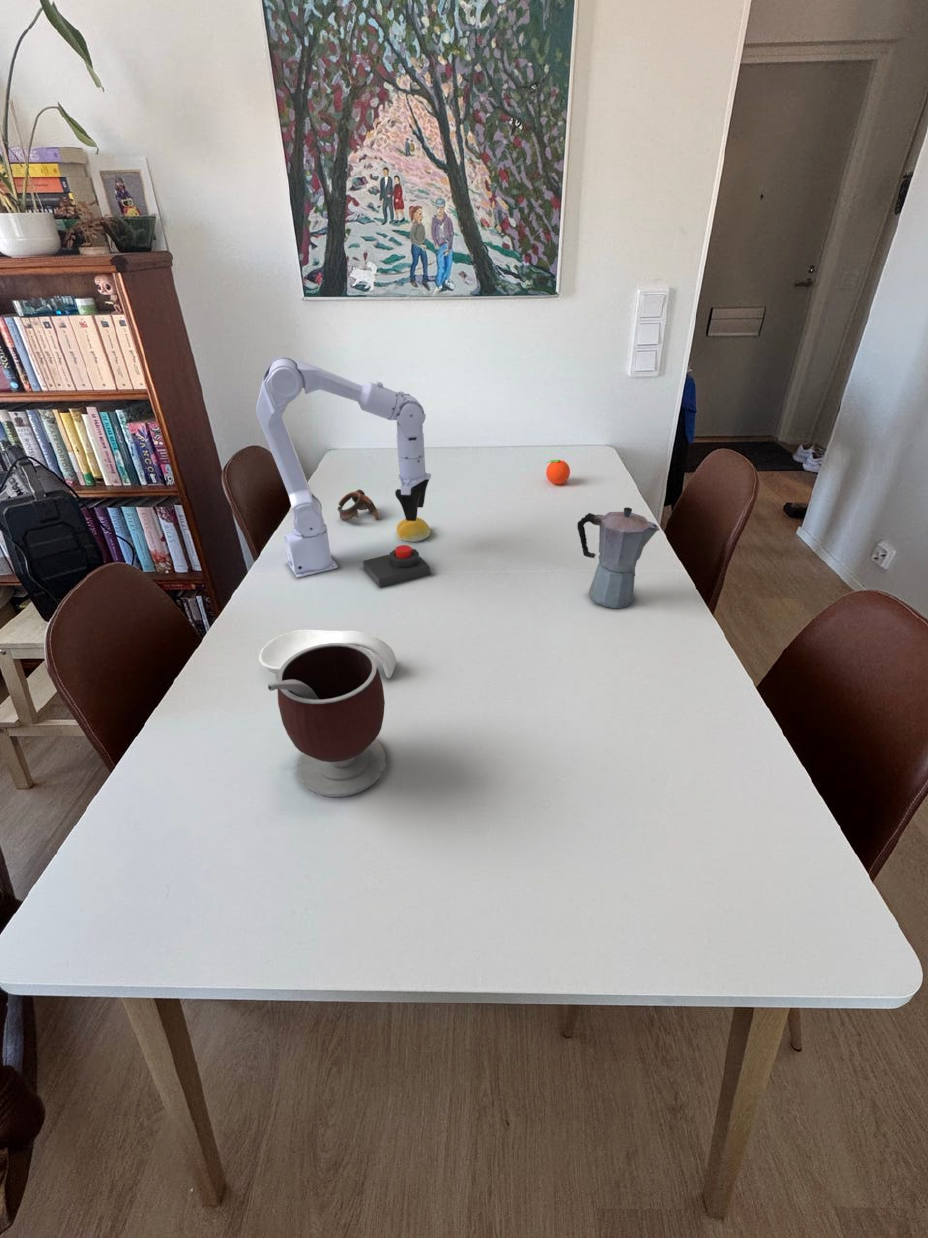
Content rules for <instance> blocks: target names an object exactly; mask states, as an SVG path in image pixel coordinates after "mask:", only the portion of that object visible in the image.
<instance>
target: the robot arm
mask: <svg viewBox="0 0 928 1238" xmlns="http://www.w3.org/2000/svg"><path fill="white" fill-rule="evenodd" d="M302 389H304V394H305V395H307V394H311V393H314V392H316V391H323V392H326V393H330V394H332V395H336V396H339V397H342V398H345V399H348V400H351V401H354V402H357V403H358V405H359V407H360V409H361V410H362V411H364V412H366V413H369V414H372V415H375V416H377V417H380V418H383V419H386V420H388V421H396V444H397V446H396V447H397V457H398V460H397V461H398V472H399V474H398V480H399V483H400V488H397V489H396V490H395V491H394V494H395V495H394V496H395V497H396V499H397V500H398V502H399V503H400V505H401V508H402V511H403V513H404V517H405V519H406V520H407V521H416V518H418V508H420V509H421V508H424V504H425V498H426V493H427V487H428V484H429V482H430V480H431V478H432V474H431V473H427V471H426V457H425V455H426V454H425V435H424V431H423V429H424V425H423V424H424V423H425V420H426V413H425V410H424V407H423V406H422V405H421V403H420V402H419V401H418V399H417V398H416V397H414V396H413V395H411V394H410V393H405V392H404V391H401V390H399V391H398V392H397V391H395V390H392V389H390V388H387V387H384V384H383V382H380V381H378V380H377V381H375V383H374V382H372V381H370V382H367V383H364V384H362V385H361V384H359V383H356V382H354V381H351V380H349V379H347V378H345V377H342V376H340V375H337V374H335V373H332V372H330V371H328V370H326V369H323V368H321V367H318V366H316V365H313V364H310V363H308V362H305V361H301V360H296V361H295V360H294V359H292V358H290V357H287V356H280V357H279V356H278V357H277V358H275V359H274V360H272V361H271V363H270V364H269V365H268V367H267V368H266V370H265V371H264V373H263V376H262V381H261V385H260V390H259V395H258V398H257V401H256V402H257V403H256V407H255V408H256V409H255V414H256V417H257V420H258V422H259V425H260V427H261V430H262V432H263V434H264V437H265V440H266V442H267V444H268V447H269V449H270V452H271V454H272V455H271V456H272V457H273V460H274V463H275V465H276V467H277V469H278V472H279V475H280V477H281V480H282V482H283V485H284V487H285V490H286V492H287V495H288V498H289V502H290V506H291V510H292V512H293V531H291V532H289V533H285V534H283V535H284V536H283V537H284V539H283V540H284V545H285V550H286V556H287V561H288V562H287V564H288V566H289V567H290V569H291V570H292V572H293V574H294V576H295V577H296V578H302V577H307V576H311V575H314V574H315V575H316V574H319V573H323V572H327V571H331V570H336V569H338V568H339V566H338V564H337V563H336V562H335V561H334V559H333V558H332V553H331V545H330V540H329V533H328V526H327V524H326V523H325V520H324V519H325V518H324V517H323V512H322V511H323V507H322V503H321V501H320V500H319V499H318V497H316V495H314V493H313V491H312V488H311V486H310V485H309V482H308V481H307V478H306V474H305V472H304V469H303V467H302V464H301V462H300V459H299V456H298V454H297V451H296V448H295V445H294V443H293V441H292V438H291V435H290V432H289V429H288V426H287V424H286V422H285V421H286V420H285V419H284V417H283V414H284V413H285V411H286V409H287V408H288V405H289V404H291V402H293V401H294V400H295V399H297V397H299V396H300V394H301V393H302Z"/></svg>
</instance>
